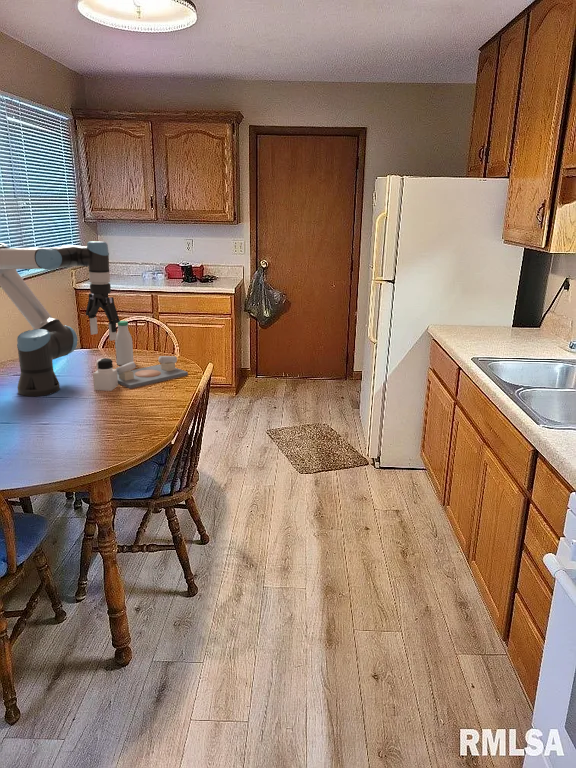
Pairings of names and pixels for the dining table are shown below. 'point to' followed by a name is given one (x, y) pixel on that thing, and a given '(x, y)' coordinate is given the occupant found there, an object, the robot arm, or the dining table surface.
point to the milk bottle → (123, 344)
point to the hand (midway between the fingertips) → (103, 337)
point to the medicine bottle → (105, 375)
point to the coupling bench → (149, 373)
